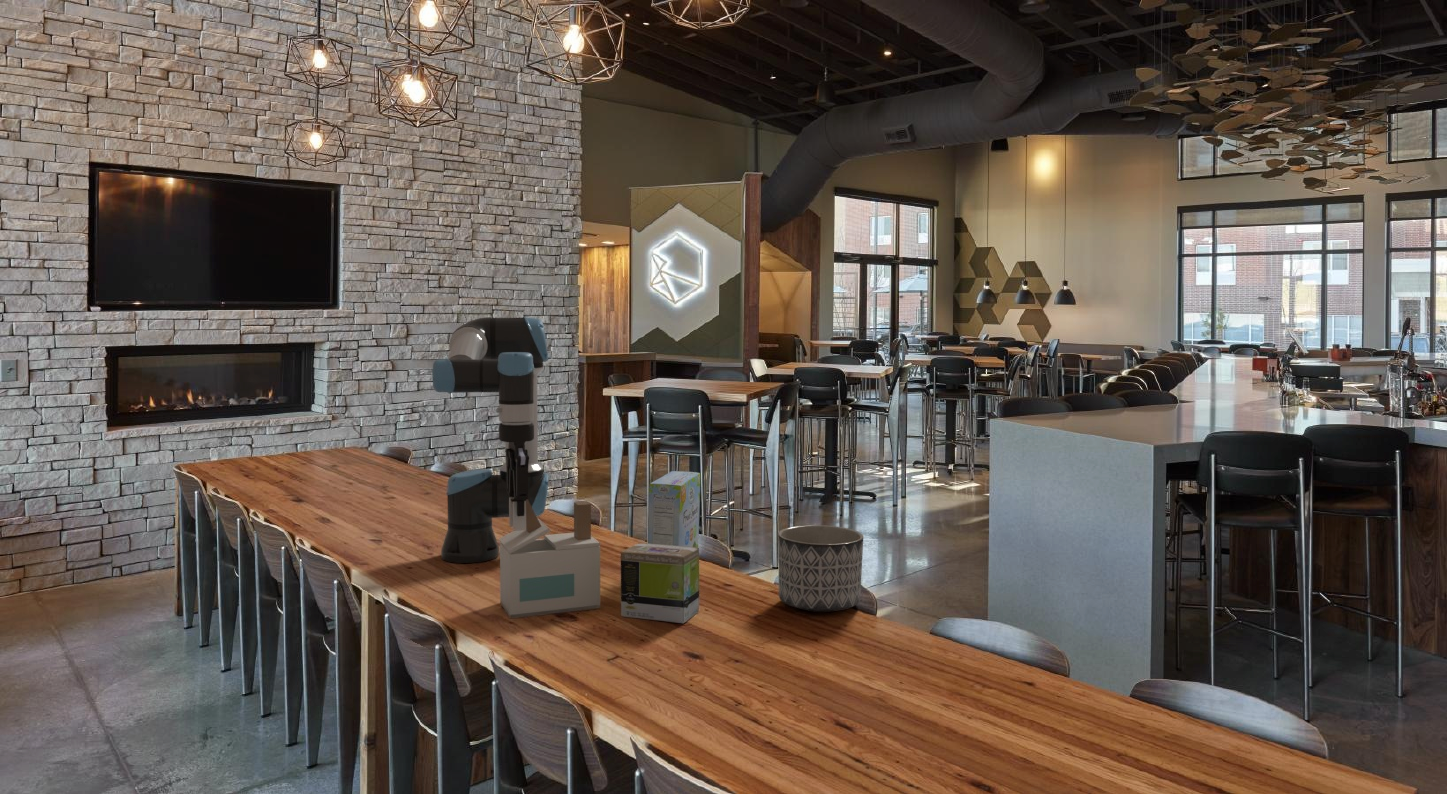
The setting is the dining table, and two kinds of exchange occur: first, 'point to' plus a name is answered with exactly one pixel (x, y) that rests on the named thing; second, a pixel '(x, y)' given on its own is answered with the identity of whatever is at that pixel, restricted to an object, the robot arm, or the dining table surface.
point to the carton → (553, 572)
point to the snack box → (674, 509)
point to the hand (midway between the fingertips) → (517, 527)
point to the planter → (820, 567)
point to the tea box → (660, 582)
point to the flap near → (525, 532)
